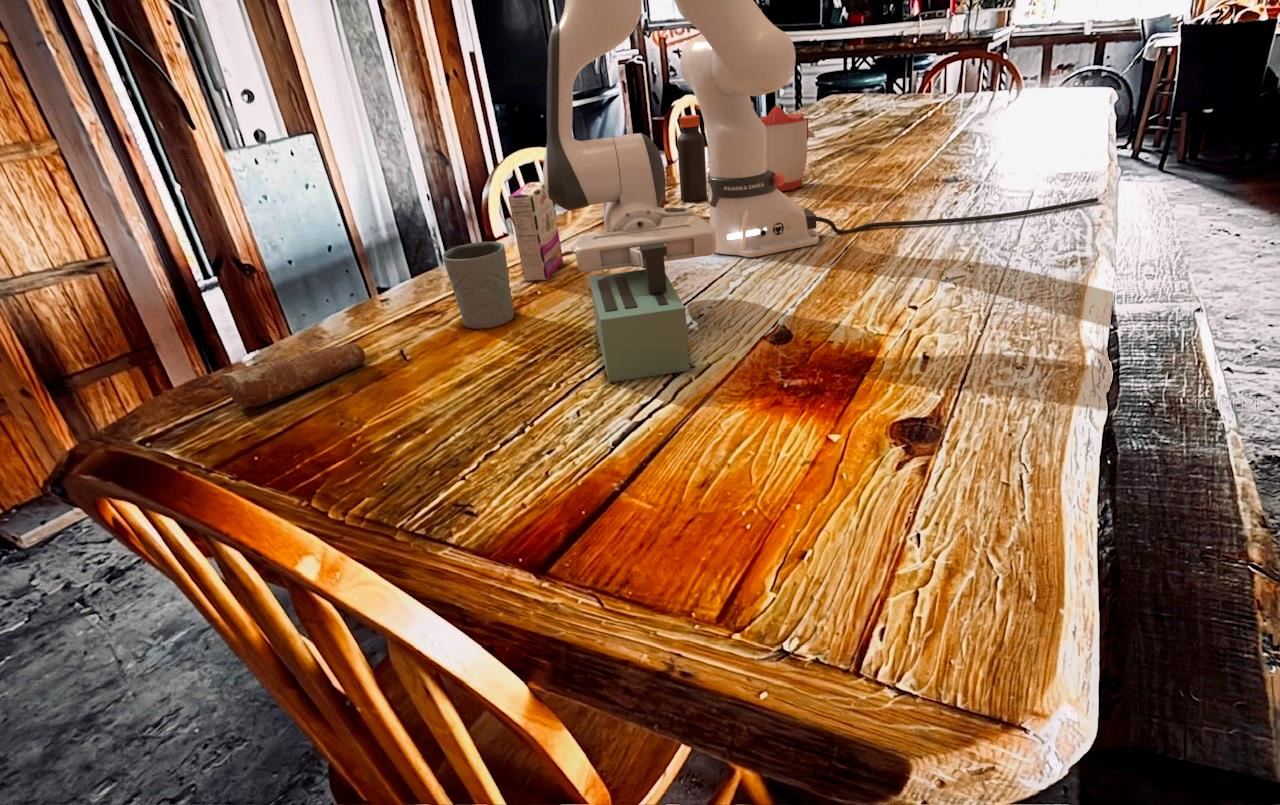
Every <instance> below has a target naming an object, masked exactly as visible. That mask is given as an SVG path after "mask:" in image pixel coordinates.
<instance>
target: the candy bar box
mask: <svg viewBox="0 0 1280 805" xmlns="http://www.w3.org/2000/svg"><path fill="white" fill-rule="evenodd" d="M508 203H509V208H510V212H511V218H512V223H513V229H514V234H515V236H516V243H517V247H518V254H519V257H520V263H521V268H522V273H523V278H524V281H525V282H540V281H541V282H542V281H548V280H549V279H550V278H551V277H552V276H553V275H554V273H555V272H557V270H558V269H559V268H560V267H561V265H563V264H564V258H563V253H562V252H563V251H562V246H561V240H560V234H559V228H558V222H557V217H556V211H555V210H556V209H555V205H554V204H555V203H554V202H553V201H552V200H550V199H549V196H548V194H547V192H546V189H545V186H544V181H532V182H531V181H530V182H527V183H525V184H524V185H523V186H521V187H520V188H519V189H517V190H516V191H515V192H513V193H512V194H510V195H509V196H508Z"/></svg>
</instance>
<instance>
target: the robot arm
mask: <svg viewBox="0 0 1280 805" xmlns="http://www.w3.org/2000/svg"><path fill="white" fill-rule="evenodd" d="M564 1H565V2H564V8H563V12H562V15H561V17H560V20H559V22H557V23H556V24H555V25H554V26H552V28H551V30H550V34H549V38H548V47H547V52H548V53H547V70H546V146H545V147H546V148H545V153H544V159H543V167H542V179H543V182H544V186H545V189H546V192H547V194H548V196H549V199H550V200H552V201H553V204H555V205H557V206H558V207H560V208H562V209H564V210H565V211H568V212H570V211H575V210H580V209H584V208H588V207H590V206H596V205H602V204H603V203H607V204H606V207H605V211H604V210H603V225H604V230H605V232H600V233H591V234H587V235H583V236H580V237H579V238H578V239H577V240H576V242H575V243H574V244H572V245H571V252H572V253H573V255H575V260H576V266H577V270H578V271H579V272H582V273H590V272H599V271H605V270H613V269H620V268H627V267H635V268H642V270H644V269H645V261H644V259H643V257H642V255H641V252H640V245H645V244H652V243H660V242H663V243H664V244H665V246H666V249H667V256H664V262H671V261H677V260H686V259H692V258H693V259H694V258H701V257H708V256H713V255H714V254H720V255H721V254H722V255H728V256H729V255H732V256H741V257H745V258H755V257H756V258H757V257H761V256H766V255H771V254H775V253H781V252H785V251H790V250H794V249H799V248H805V247H808V246H809V247H810V246H814V245H817V244H819V242H820V235H819V233H818V232H817V231H816V230H815V229H817V222H819V223H824V224H826V225H829V227H830V228H831V230H832V231H833V232H834V233H836V234H839V235H846V234H850V233H851V234H852V233H855V232H856V233H857V232H860V231H863V230H866V229H873V228H881V227H883V228H884V227H901V226H903V227H904V226H905V227H906V226H921V225H938V224H939V225H940V224H941V225H942V224H955V223H965V222H977V221H978V222H979V221H989V220H997V219H1005V218H1012V217H1019V216H1025V215H1031V214H1038V213H1045V212H1049V211H1056V210H1060V209H1065V208H1072V207H1077V206H1083V205H1088V204H1093V203H1097V202H1099V197H1091V198H1087V199H1081V200H1076V201H1071V202H1065V203H1064V202H1063V203H1059V204H1053V205H1048V206H1042V207H1037V208H1030V209H1024V210H1018V211H1011V212H1003V213H994V214H987V215H977V216H965V217H963V216H962V217H952V218H939V219H938V218H937V219H936V218H935V219H923V220H922V219H921V220H902V221H901V220H900V221H899V220H898V221H880V222H871V223H865V224H862V225H859V226H857V227H856V226H855V227H852V228H850V229H849V228H848V229H839V228H838V227H837V226H836V224H835V222H834V221H832V220H831V219H828V218H826V217H820V216H817V214H816V213H815V212H813V211H812V210H811V209H803V207H802V206H801V205H800V204H799V203H798V202H796V201H794V200H793V199H792V198H791V197H789V196H788V195H787V194H785V193H783V191H779V190H778V189H776V188H777V185H779V186H781V185H783V184H784V183H783V182H785V181H784V180H786V179H784V178H785V177H784V175H782V174H780V173H777V174H776V173H774V172H772V171H770V170H768V169H767V130H766V127H765V125H764V123H763V122H762V121H761V119H760V118H759V117H760V116H758V114H757V113H756V111H755V108H754V106H753V103H752V99H751V97H760V96H763V95H767V94H771V93H775V92H776V91H779V90H781V89H783V88H784V87H785V86H787V84H788V83H789V81H790V80H791V78H792V76H793V73H794V71H795V67H796V60H797V59H796V58H797V57H796V48H795V44H794V43H793V40H792V38H791V37H790V35H788V34H787V33H786V32H785V31H783V30H781V29H780V28H778V27H777V26H776V25H775V24H774V23H772V21H771V20H769V19H768V17H767V16H766V15H765V14H764V13H763V11H762V10H761V9H760V7H759V6H758V4H757V3H756V2H755V1H754V0H673V1H674V3H675V6H676V8H677V11H678V12H679V14H680V15H681V17H683V19H684V20H686V21H687V22H689V23H690V24H691V25H692V26H693V27H695V29H697V30H698V32H699V33H700V34H698V35H696V36H693V37H692V38H690V39H689V41H687V43H686V44H685V45H684V47H683V49H682V51H681V55H680V61H679V67H680V73H681V76H682V78H683V80H684V82H685V83H686V84H687V86H688V87H689V88H690V90H691V91H692V92H693V94H694V97H695V98H696V101H697V104H698V107H699V110H700V113H701V116H702V119H703V123H704V126H705V131H706V140H707V151H708V167H709V174H708V175H707V182H706V183H707V201H708V203H709V220H708V221H709V222H708V221H707V220H706V219H704V218H703V217H700V216H698V215H697V216H696V214H695V211H694V209H692V208H689V207H688V208H685V207H675V208H674V207H664V208H660V207H659V205H660V204H661V202H662V200H663V198H664V195H665V193H666V172H664V171H665V166H664V161H663V158H662V155H661V152H660V150H659V148H658V146H657V145H656V144H655V143H654V142H653V141H652V139H650V137H648V135H645V134H644V133H642V132H638V133H628V134H621V135H613V136H609V137H601V138H593V139H587V140H578V139H576V138H574V136H573V111H574V109H573V106H574V104H573V102H574V84H575V80H576V78H577V76H578V74H579V73H580V72H581V71H582V70H583V69H584V68H585V67H586V66H587V65H589V64H590V63H592V62H594V61H595V60H597V59H598V58H600V57H602V56H604V55H605V54H607V53H609V52H611V51H613V50H614V49H615V48H617V47H619V46H620V45H622V44H623V43H624V42H625V41H626V40H627V39H628V38H629V37H630V36H631V35H632V33H634V31H635V29H636V28H637V26H638V24H639V22H640V19H641V15H642V4H643V3H642V2H643V1H642V0H564ZM603 205H604V204H603Z"/></svg>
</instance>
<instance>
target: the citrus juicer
mask: <svg viewBox="0 0 1280 805" xmlns="http://www.w3.org/2000/svg"><path fill="white" fill-rule="evenodd" d="M758 117H759V118H760V119H761V121H762V122H763V123H764V125H765V127H766V130H767V169H768V170H770V171H772V172H774V173H776V174H777V173H780V174H782V175H784V177H785V178H784V179H786V180H784V181H785V182H783V183H784V184H783V185H781V186H779V185H777V188H776V189H778V190H779V191H781V192H785V191H794V190H796V189H797V188H799V187H800V186H801V183H802V181H803V178H804V174H805V171H806V166H807V159H808V141H809V138H815V139H816V135H815V132H813V131H811V130H810V129H809V117H806V118H805V116H804V114H800V113H799V114H797V113H795V114H794V113H792V114H791V113H789V114H788V113H786V112H785V110H783V108H781V107H780V106H779V105H775V106H774V107H772V109H771V110H770V112H769V113H768V114H767V115H764V116H758Z"/></svg>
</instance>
